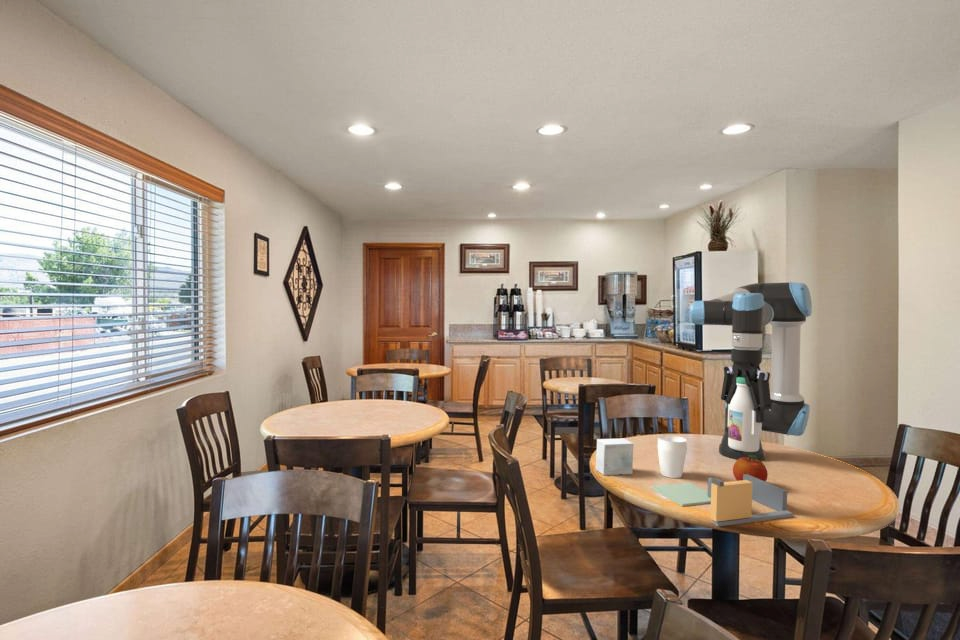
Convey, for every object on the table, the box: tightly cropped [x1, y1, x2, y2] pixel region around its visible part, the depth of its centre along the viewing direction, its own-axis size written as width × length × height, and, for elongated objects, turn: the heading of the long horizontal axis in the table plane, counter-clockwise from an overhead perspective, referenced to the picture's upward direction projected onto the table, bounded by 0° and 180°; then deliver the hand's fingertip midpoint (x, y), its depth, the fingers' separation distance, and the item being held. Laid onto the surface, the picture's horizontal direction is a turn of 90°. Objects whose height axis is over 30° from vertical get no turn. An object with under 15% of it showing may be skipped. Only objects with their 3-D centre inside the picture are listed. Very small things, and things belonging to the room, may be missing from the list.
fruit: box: [732, 455, 769, 482], centre depth 154 cm, size 10×10×10 cm
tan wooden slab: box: [709, 477, 753, 522], centre depth 126 cm, size 11×3×10 cm, turn 106°
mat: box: [650, 482, 711, 507], centre depth 145 cm, size 14×14×1 cm
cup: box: [657, 434, 688, 479], centre depth 162 cm, size 9×9×12 cm
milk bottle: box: [728, 377, 761, 452], centre depth 138 cm, size 8×8×20 cm
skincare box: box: [595, 437, 634, 476], centre depth 164 cm, size 10×6×10 cm, turn 102°
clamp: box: [707, 474, 794, 527], centre depth 135 cm, size 25×16×6 cm, turn 106°
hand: (744, 430), depth 138 cm, fingers closed on milk bottle, 8 cm apart
